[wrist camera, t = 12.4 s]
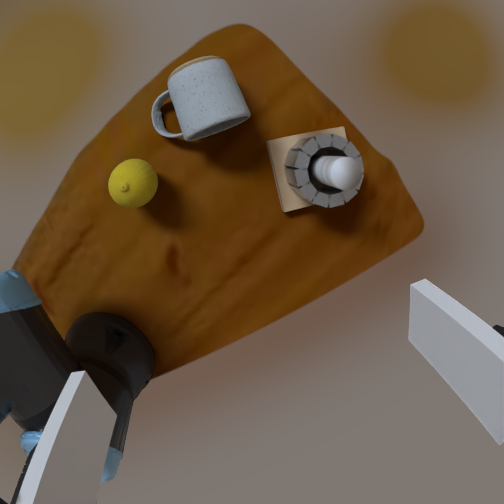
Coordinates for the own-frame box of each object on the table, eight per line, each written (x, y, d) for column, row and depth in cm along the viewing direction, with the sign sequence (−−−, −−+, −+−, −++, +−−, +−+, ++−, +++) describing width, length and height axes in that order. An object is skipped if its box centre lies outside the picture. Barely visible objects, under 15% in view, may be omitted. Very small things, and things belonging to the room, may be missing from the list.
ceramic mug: (224, 64, 31) (225, 43, 24) (248, 121, 34) (255, 113, 27) (145, 97, 32) (126, 85, 24) (168, 154, 34) (154, 155, 27)
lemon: (115, 193, 35) (92, 203, 27) (130, 152, 33) (109, 152, 26) (154, 208, 36) (138, 222, 28) (170, 167, 35) (157, 170, 27)
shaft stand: (281, 210, 38) (306, 231, 28) (265, 141, 35) (286, 136, 25) (352, 192, 38) (395, 208, 28) (339, 127, 35) (382, 120, 25)
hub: (292, 206, 36) (303, 214, 32) (277, 143, 34) (287, 141, 29) (350, 192, 37) (368, 198, 32) (338, 131, 34) (355, 129, 29)
